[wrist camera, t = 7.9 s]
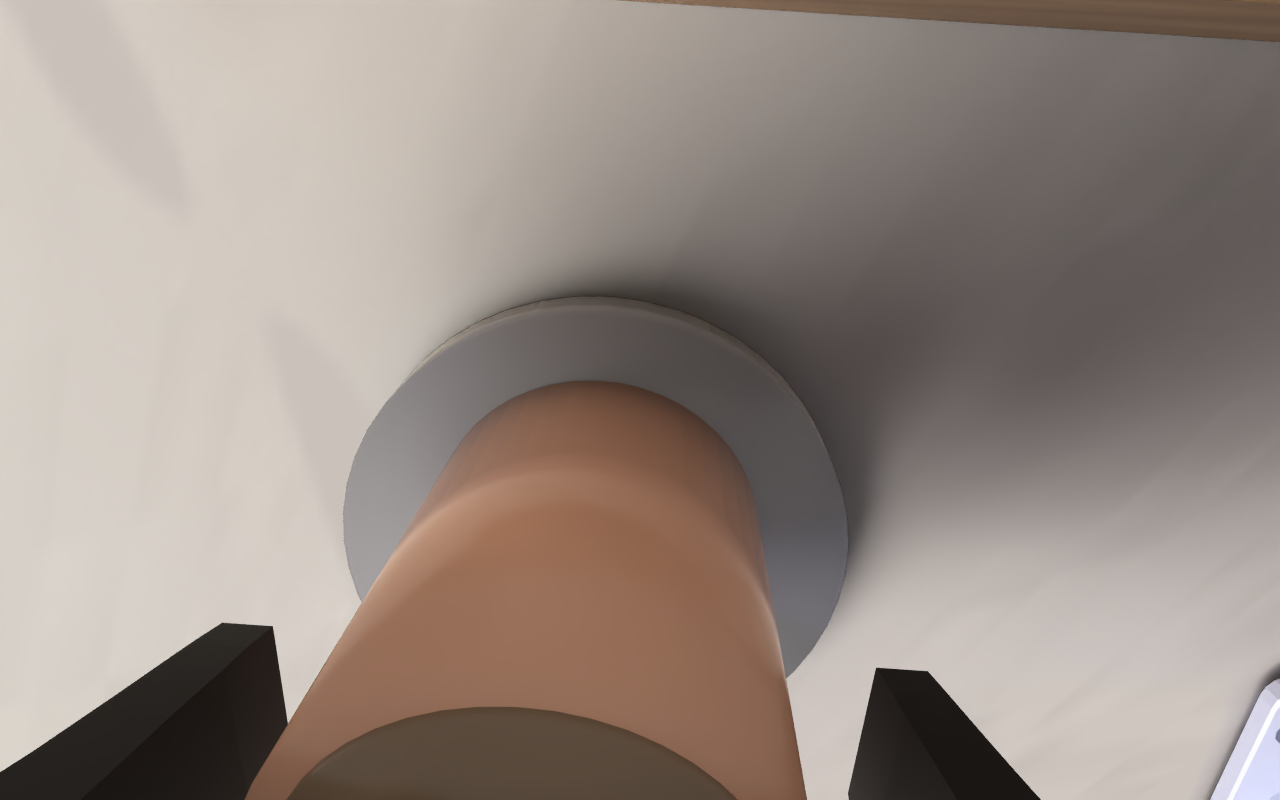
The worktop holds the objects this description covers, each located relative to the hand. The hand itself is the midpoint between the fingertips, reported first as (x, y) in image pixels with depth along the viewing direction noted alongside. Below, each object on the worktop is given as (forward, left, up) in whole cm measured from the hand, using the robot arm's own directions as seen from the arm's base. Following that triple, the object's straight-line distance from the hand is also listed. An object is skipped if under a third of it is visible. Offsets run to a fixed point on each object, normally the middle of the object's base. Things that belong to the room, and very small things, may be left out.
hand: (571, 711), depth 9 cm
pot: (+1, 0, -3) cm, 3 cm away
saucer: (0, 0, -4) cm, 4 cm away
